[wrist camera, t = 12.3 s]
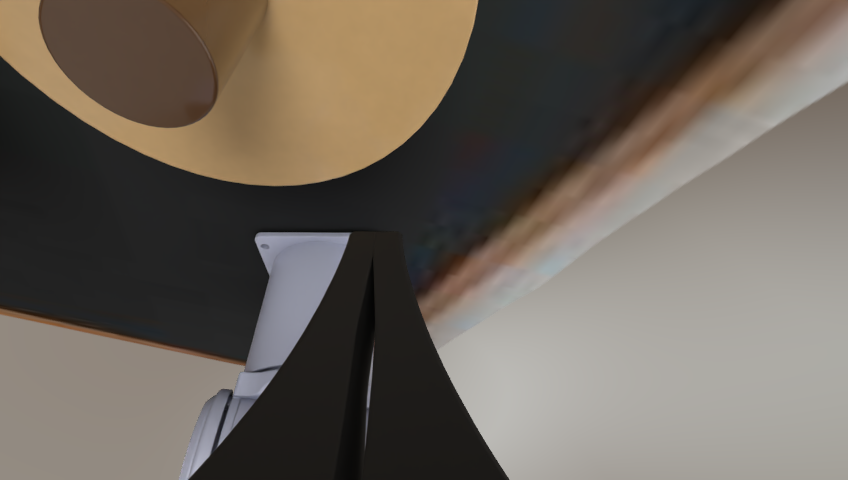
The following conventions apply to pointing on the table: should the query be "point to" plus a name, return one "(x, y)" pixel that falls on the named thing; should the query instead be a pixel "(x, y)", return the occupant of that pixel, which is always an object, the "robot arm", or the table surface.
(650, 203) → the table surface
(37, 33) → the lid
